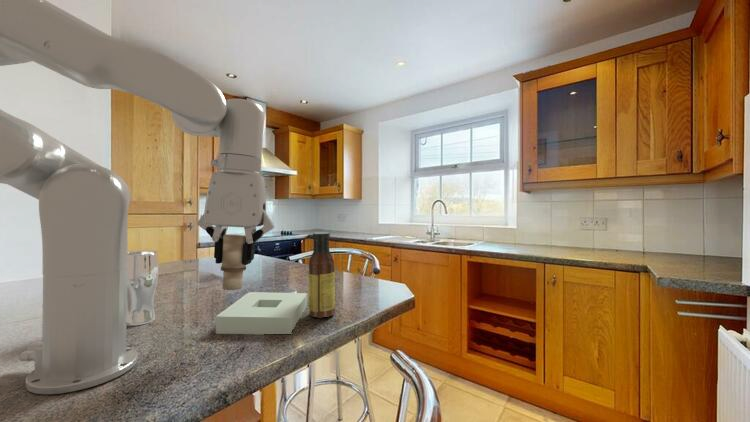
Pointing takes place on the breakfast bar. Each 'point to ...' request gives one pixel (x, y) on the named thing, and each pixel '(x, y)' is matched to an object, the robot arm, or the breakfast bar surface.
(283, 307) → the seat board
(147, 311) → the beer glass
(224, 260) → the peg
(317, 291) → the sauce bottle
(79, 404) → the breakfast bar surface
